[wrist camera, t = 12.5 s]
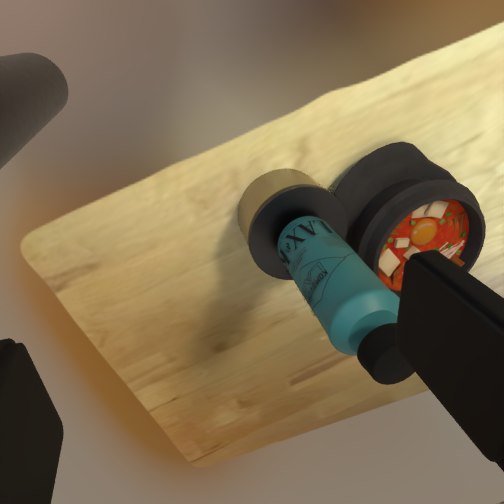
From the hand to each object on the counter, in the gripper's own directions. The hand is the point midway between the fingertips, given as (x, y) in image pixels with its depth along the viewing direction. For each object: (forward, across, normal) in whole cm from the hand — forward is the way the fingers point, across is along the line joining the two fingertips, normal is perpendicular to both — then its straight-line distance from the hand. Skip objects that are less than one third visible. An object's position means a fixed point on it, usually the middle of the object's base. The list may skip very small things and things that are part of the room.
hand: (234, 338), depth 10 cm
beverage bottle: (+29, -12, +14) cm, 35 cm away
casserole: (+36, -28, +19) cm, 50 cm away
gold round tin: (+36, -12, +14) cm, 41 cm away
